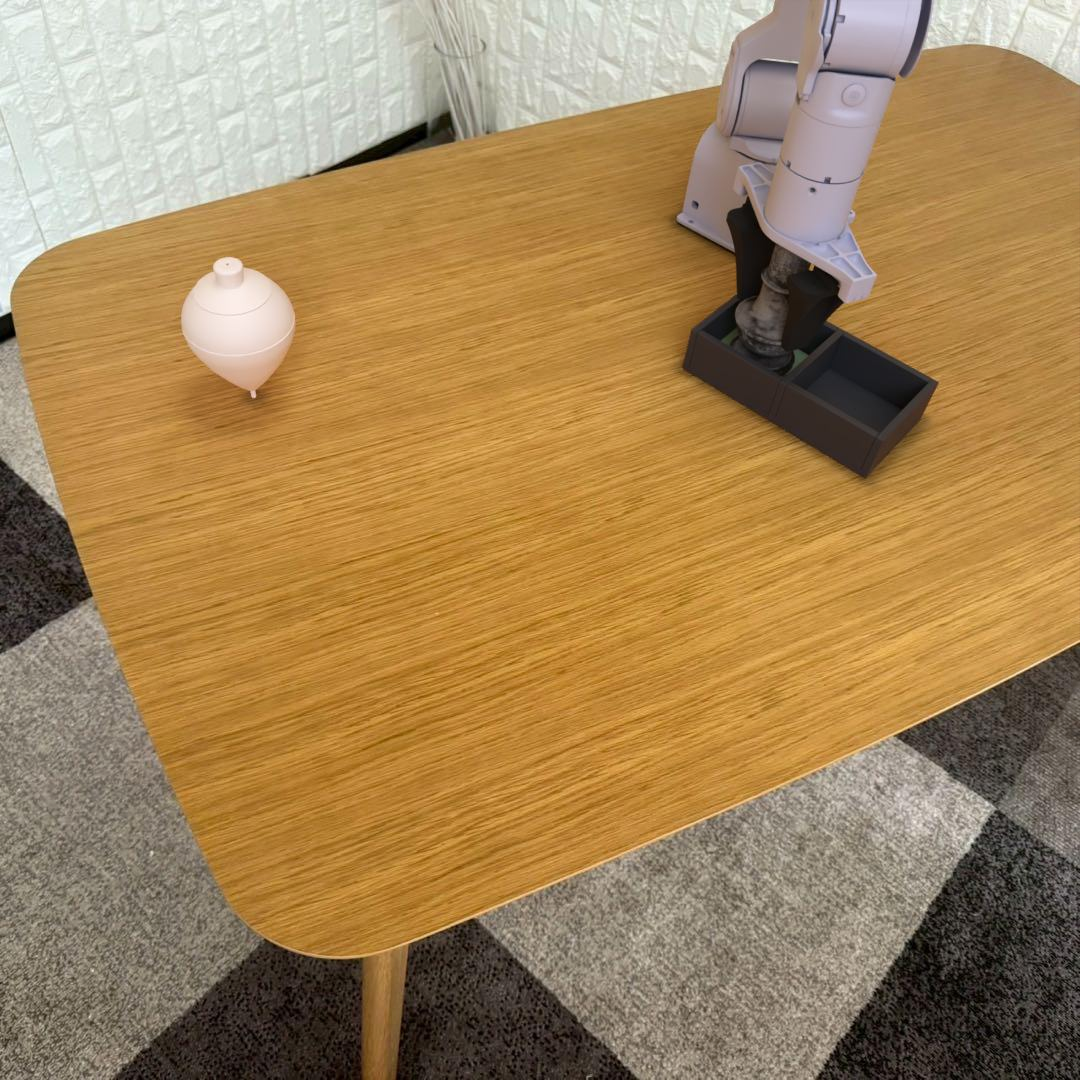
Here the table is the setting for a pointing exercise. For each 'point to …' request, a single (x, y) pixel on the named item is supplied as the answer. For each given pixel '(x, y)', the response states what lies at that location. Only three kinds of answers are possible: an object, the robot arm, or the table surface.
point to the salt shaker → (768, 314)
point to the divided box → (818, 389)
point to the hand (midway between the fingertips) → (771, 321)
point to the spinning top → (238, 323)
